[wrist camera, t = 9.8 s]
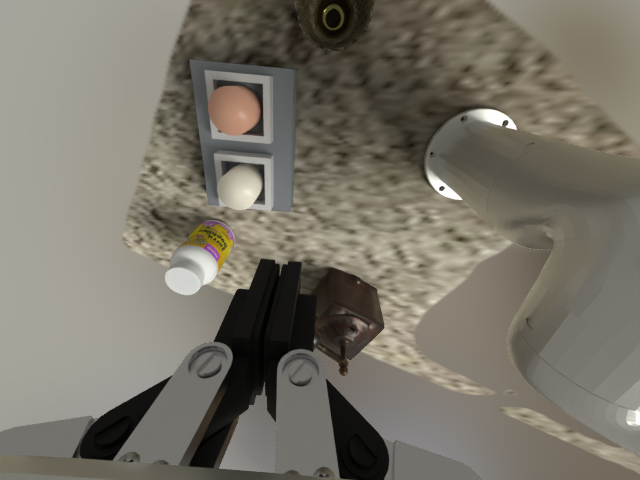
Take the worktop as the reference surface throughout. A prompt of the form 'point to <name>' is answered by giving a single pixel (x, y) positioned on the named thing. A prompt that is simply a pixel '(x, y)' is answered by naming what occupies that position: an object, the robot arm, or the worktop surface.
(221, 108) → the brown egg
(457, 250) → the worktop surface
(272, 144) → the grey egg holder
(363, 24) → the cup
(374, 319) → the dark brown coffee grinder
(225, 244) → the supplement bottle
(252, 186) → the knob cream
